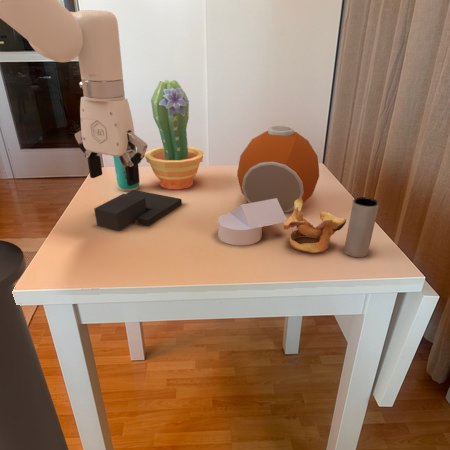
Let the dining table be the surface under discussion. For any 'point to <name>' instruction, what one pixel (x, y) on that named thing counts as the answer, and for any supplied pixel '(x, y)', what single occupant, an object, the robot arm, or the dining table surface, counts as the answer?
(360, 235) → the grey cylinder
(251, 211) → the wedge on round base
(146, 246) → the dining table surface
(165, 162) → the potted cactus
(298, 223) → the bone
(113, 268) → the dining table surface
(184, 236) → the dining table surface
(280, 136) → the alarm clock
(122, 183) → the beverage can
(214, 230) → the dining table surface
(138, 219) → the base pad
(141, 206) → the black rectangular block
